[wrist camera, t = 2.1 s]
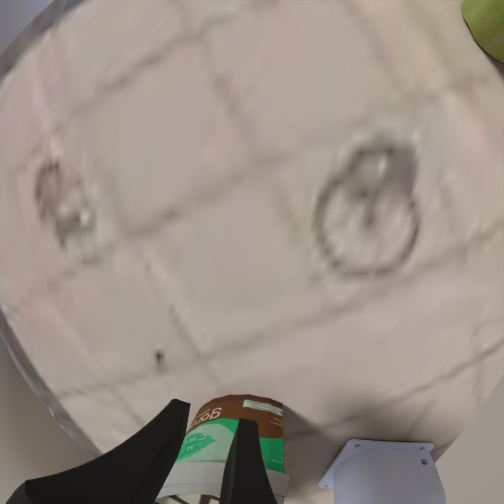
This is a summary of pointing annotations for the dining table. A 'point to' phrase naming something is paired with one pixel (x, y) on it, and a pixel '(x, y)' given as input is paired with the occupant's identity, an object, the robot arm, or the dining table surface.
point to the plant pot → (486, 24)
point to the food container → (224, 449)
